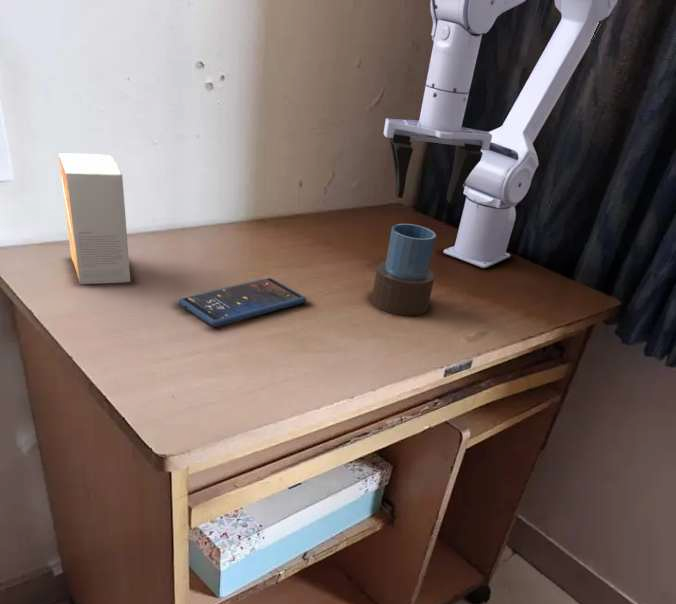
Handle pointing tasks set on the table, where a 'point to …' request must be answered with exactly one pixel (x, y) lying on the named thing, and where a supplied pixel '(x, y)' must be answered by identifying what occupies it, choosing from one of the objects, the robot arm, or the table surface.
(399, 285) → the brown short cylinder
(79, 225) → the small box
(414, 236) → the cup
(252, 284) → the smartphone
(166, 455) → the table surface
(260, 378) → the table surface
